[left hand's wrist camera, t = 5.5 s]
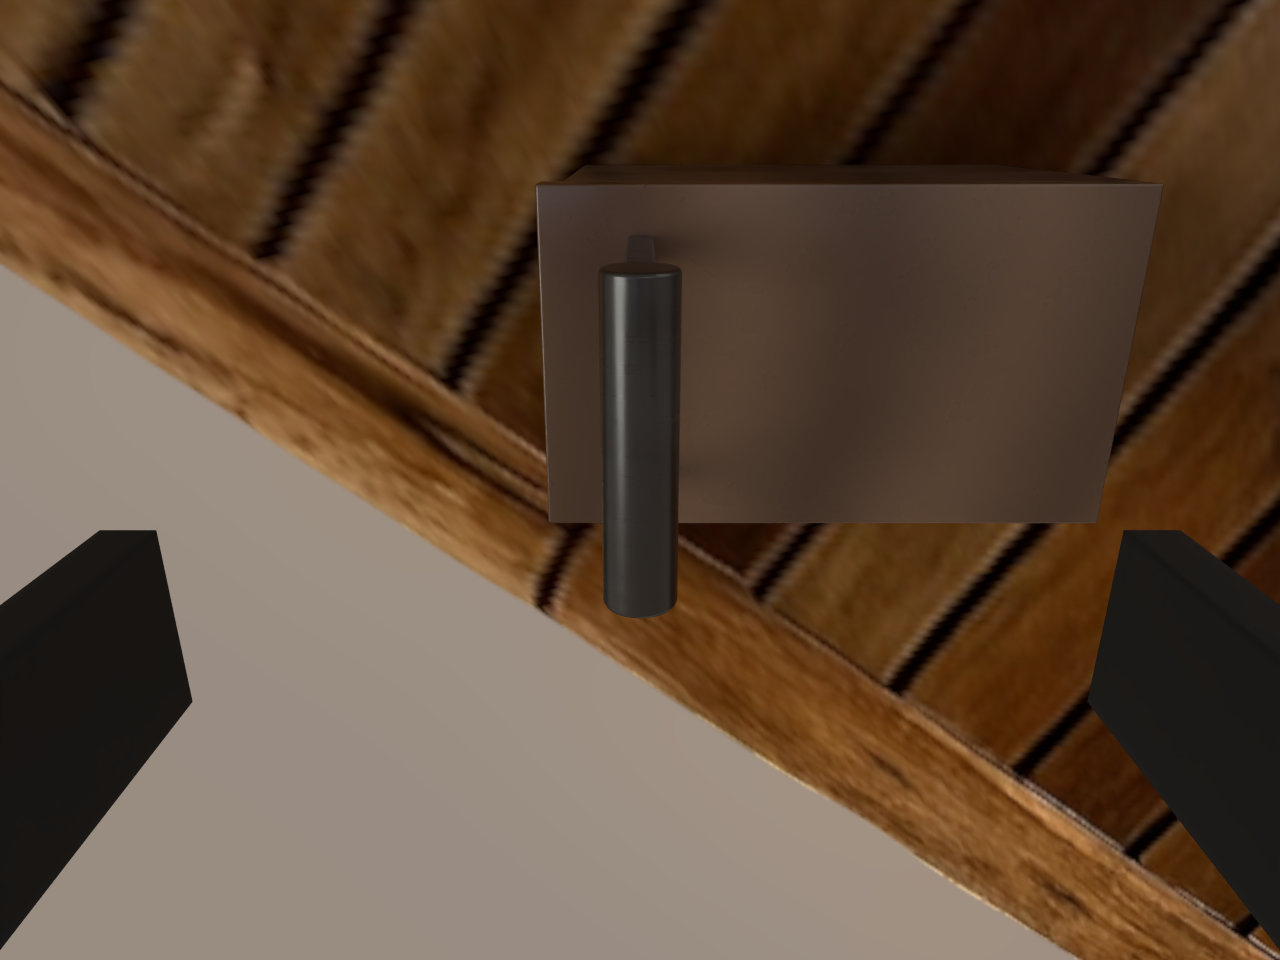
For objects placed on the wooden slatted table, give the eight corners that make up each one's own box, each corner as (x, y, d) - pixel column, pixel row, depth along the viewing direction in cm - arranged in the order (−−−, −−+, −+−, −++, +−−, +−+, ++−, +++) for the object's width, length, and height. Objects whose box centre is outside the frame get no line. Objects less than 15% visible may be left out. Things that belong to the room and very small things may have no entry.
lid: (552, 509, 29) (516, 665, 20) (539, 181, 25) (489, 209, 17) (1081, 510, 29) (1259, 666, 20) (1144, 181, 25) (1390, 209, 17)
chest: (590, 408, 39) (571, 509, 29) (585, 164, 35) (562, 181, 25) (965, 408, 39) (1081, 509, 29) (999, 164, 35) (1143, 181, 25)
